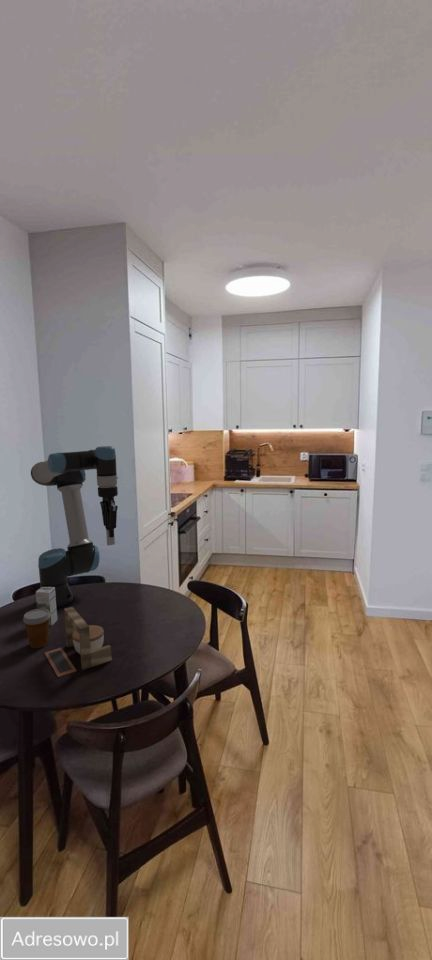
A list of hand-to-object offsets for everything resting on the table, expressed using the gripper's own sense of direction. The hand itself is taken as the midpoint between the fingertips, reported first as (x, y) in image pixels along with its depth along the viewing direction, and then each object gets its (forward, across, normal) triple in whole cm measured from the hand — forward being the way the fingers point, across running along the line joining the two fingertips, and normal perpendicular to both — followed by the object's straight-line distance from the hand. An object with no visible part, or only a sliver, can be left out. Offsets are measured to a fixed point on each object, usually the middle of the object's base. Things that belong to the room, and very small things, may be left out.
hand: (110, 544), depth 180 cm
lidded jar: (+33, -18, +17) cm, 41 cm away
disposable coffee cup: (+33, -1, +30) cm, 44 cm away
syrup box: (+33, +15, +23) cm, 43 cm away
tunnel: (+32, -18, +17) cm, 41 cm away
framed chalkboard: (+32, -18, +27) cm, 46 cm away
